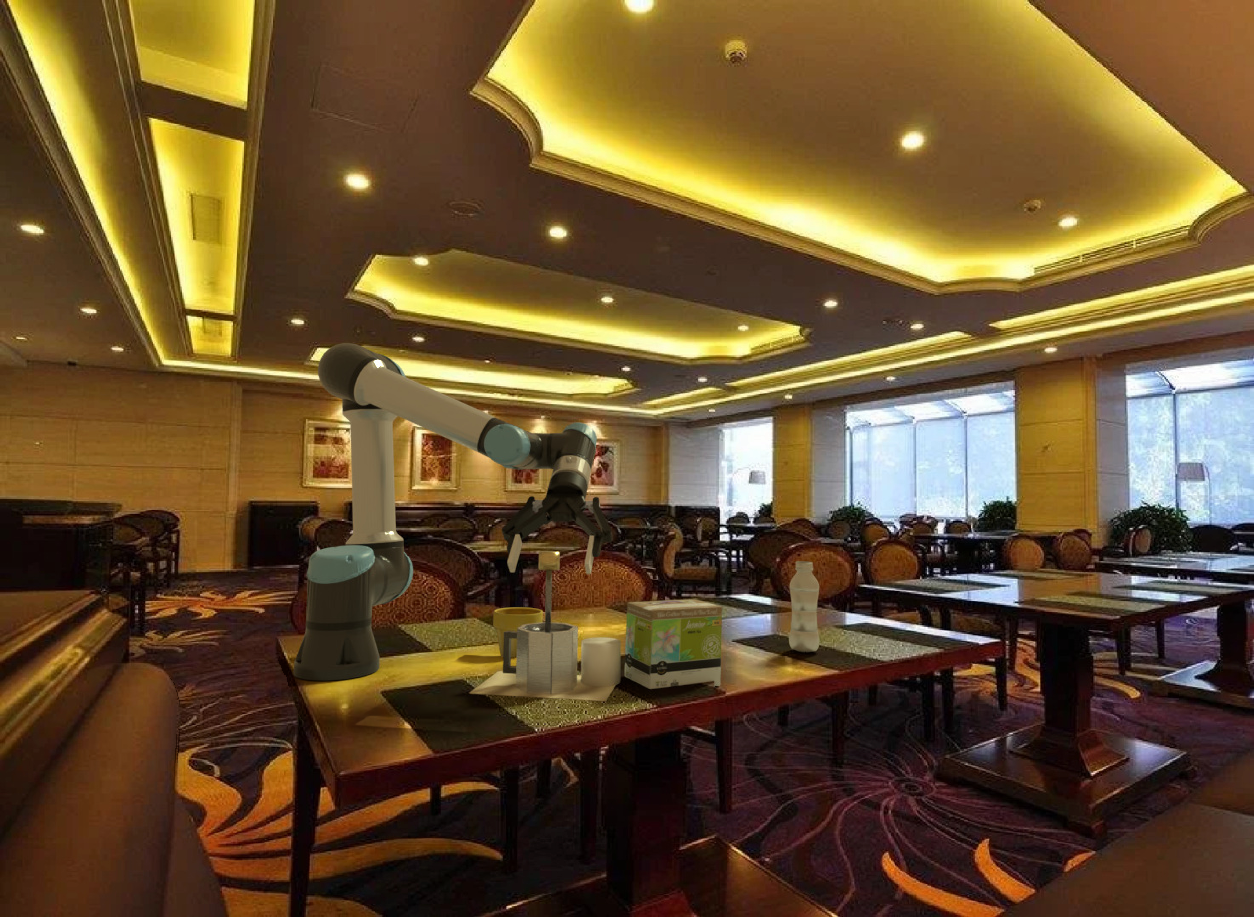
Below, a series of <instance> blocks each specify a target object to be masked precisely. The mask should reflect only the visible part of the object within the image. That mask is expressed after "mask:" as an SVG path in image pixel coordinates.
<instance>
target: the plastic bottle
mask: <svg viewBox="0 0 1254 917" xmlns="http://www.w3.org/2000/svg"><path fill="white" fill-rule="evenodd" d="M813 564H814V563H813V562H812V561H806V560H805V561H802V560H801V561H799V560H798V561H795V570H796V573H795V574H794V575H793V577H792V578H791V580H790V583H789V592H790V593H789V594H790V600H791V623H790V631H789V634H788V643H789V646H790V648H791V649H792V650H794V651H796V652H801V653H805V652H806V653H811V652H817V650H818V649H819V646H820V636H819V635H820V634H819V631H818V619H817V617H818V615H817V614H818V611H817V610H818V600H819V594H820V592H819V591H820V584H819V581H818V580H817V578H816V577H815V576H814V574H813V571H814V565H813Z"/></svg>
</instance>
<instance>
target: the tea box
mask: <svg viewBox="0 0 1254 917" xmlns="http://www.w3.org/2000/svg"><path fill="white" fill-rule="evenodd" d="M626 605H627V607H626V622H625V624H626V625H625V626H626V627H625V649H624V650H625V652H624V653H625V656H624V677H625V678H627V679H630V680H631V681H633V682H636V683H637V684H639V685H641V686H643V687H645V688H647V689H650V690H652V689H661V688H662V689H663V688H669V687H670V688H671V687H677V686H684V685H685V686H686V685H695V684H701V683H707V682H714V683H713V688H716V687H715V686H719V687H720V686H721V676H722V675H721V672H722V671H721V670H722V668H721V667H722V628H723V625H722V624H723V607H722V606H720V605H718V604H714V603H713V604H712V603H709V602H707V601H703V600H699V599H673V600H652V601H650V600H649V601H648V600H647V601H629V602H627V604H626Z"/></svg>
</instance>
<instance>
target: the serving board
mask: <svg viewBox="0 0 1254 917" xmlns="http://www.w3.org/2000/svg"><path fill="white" fill-rule="evenodd" d="M615 687H616V685H613V686H605V687H596V686H588V685H585V684H582V683H581V674H577V685H576V687H575V688H574V689H573V690H572V691H569V692H564V693H558V694H553V695H544V694H528V693H525V692H523V691H521V690H519V689H517V688H516V674H510V673H503V670H498V671H496V672H495V673H494V674H493V675H491V676H490V677H489V678H487V679H486V680H484V681H483V682H482V683H480V684H479V685H477V686H476V687H475V688H474V689H471V691H470V692H469V694H471V695H490V696H510V697H525V698H526V697H527V698H545V699H559V700H560V699H561V700H562V699H563V700H580V701H596V702H597V701H598V702H607V700H608V698H609V697H610V695H611V694H612V692H613V690H614V688H615Z"/></svg>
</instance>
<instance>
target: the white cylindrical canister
mask: <svg viewBox="0 0 1254 917" xmlns="http://www.w3.org/2000/svg"><path fill="white" fill-rule="evenodd" d="M580 642H581V647H580V650H581V651H580V658H581V659H580V675H581V683H582V684H585V685H588V686H596V687H605V686H613V685H615V686H617V685H618V684H620V683H621V654H622V652H621V650H622V648H621V647H622V646H621V644H622V642H621V640H620V639H617V638H615V637H614V638H613V637H603V636H602V637H600V636H599V637H590V638H589V637H588V638H584V639H582V640H581V641H580Z"/></svg>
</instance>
